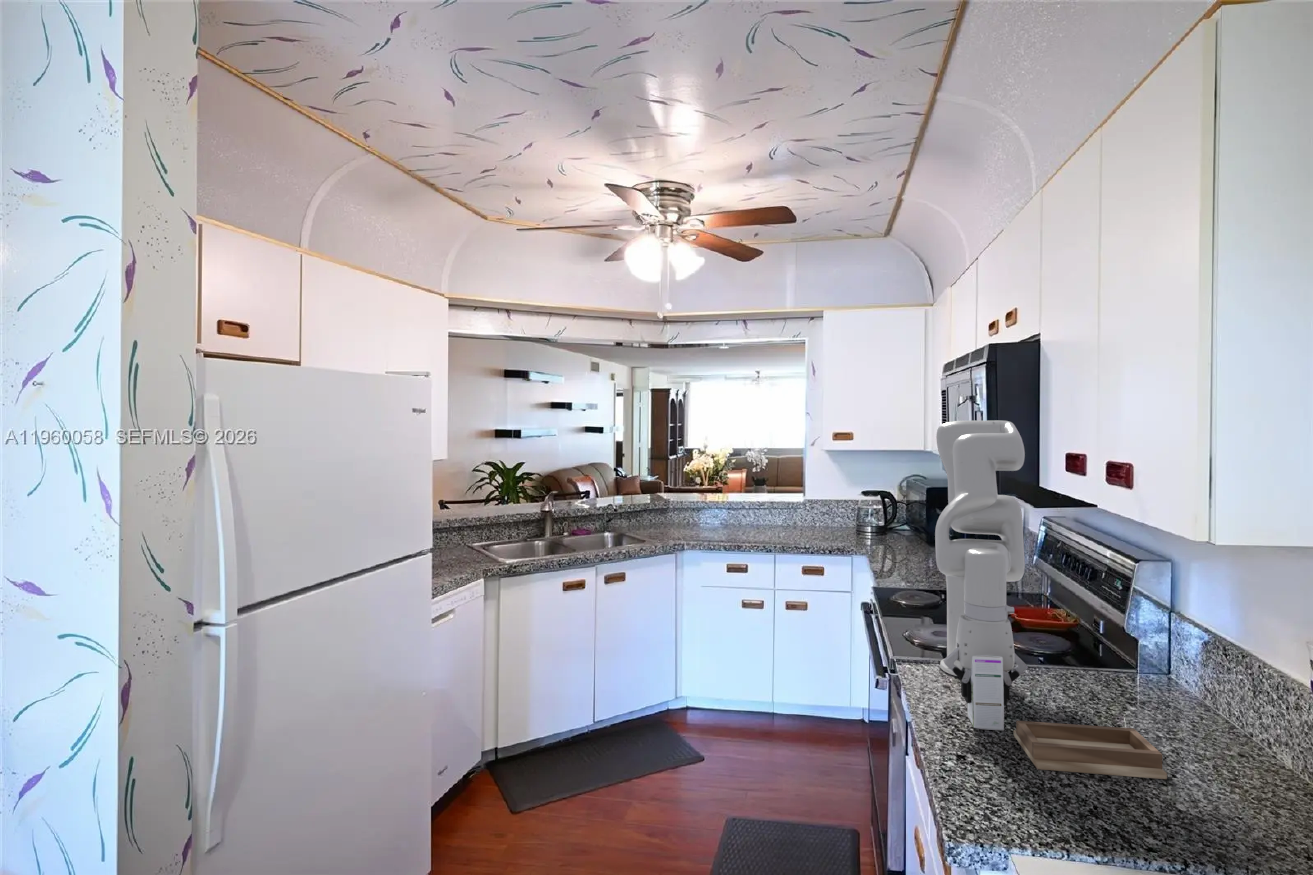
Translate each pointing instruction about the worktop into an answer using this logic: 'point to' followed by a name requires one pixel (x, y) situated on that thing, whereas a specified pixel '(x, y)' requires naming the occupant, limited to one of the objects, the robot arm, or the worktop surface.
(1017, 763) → the worktop surface
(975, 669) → the syrup box
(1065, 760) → the brown wooden tray
